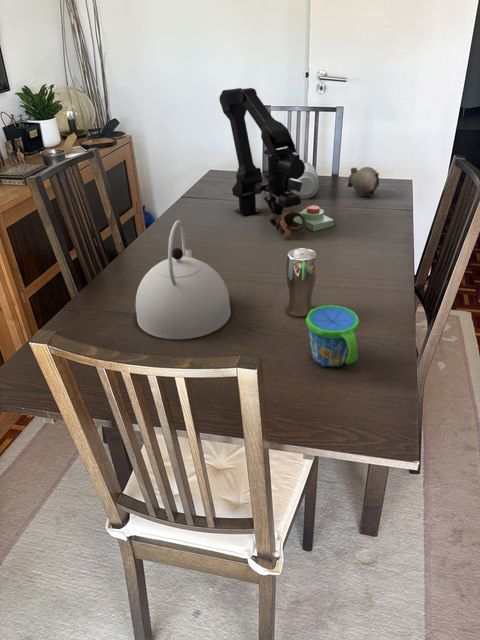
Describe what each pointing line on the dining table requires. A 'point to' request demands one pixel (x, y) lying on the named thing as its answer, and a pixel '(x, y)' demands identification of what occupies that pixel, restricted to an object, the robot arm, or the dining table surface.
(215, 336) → the dining table surface
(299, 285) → the beer glass
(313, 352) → the snack cup
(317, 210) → the call button
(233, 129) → the robot arm
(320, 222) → the box
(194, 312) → the kettle
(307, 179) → the device
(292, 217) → the pottery mug
